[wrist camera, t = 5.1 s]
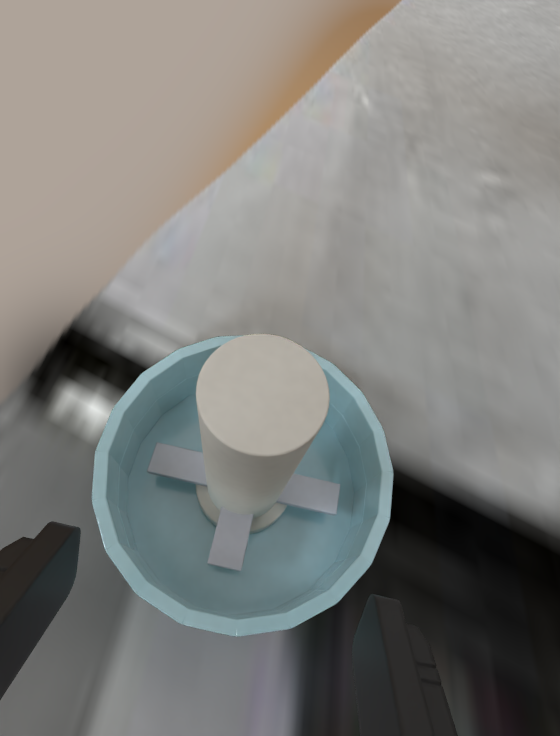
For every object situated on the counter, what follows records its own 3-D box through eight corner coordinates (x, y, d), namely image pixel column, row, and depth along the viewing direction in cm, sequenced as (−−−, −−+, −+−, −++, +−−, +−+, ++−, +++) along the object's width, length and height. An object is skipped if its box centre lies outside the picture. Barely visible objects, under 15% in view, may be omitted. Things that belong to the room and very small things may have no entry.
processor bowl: (371, 406, 28) (401, 368, 24) (344, 652, 22) (379, 669, 17) (164, 358, 28) (152, 309, 23) (77, 592, 22) (36, 592, 17)
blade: (341, 432, 27) (432, 310, 15) (319, 591, 23) (420, 589, 11) (179, 394, 27) (148, 243, 15) (127, 548, 22) (30, 500, 11)
